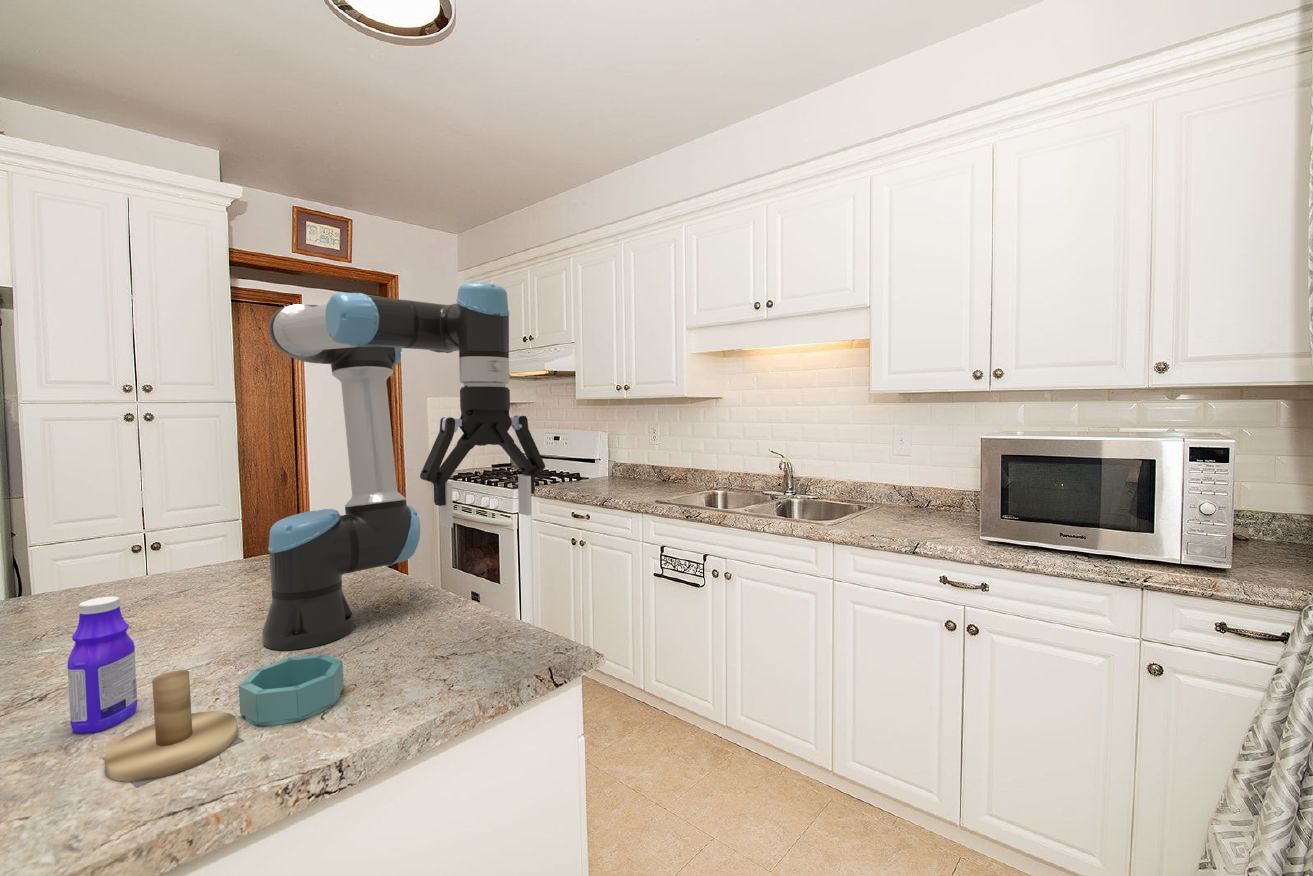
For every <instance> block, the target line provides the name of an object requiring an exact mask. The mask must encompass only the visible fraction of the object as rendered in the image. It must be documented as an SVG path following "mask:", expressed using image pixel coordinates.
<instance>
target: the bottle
mask: <svg viewBox="0 0 1313 876" xmlns="http://www.w3.org/2000/svg"><path fill="white" fill-rule="evenodd" d="M78 608H79V609H78V615H79V616H78V617H79V618H78V623H77V627H76V630H75V632H74V633H73V634H72V636H71V639H72V641H73V642H74V645H73V647H72V649H71V651H70V654H69V656H68V660H67V678H68V679H67V680H68V700H69V715H70V716H69V717H70V721H69V723H70V727H71V729H72V731H73V732H74V733H76V734H90V733H91V734H93V733H98V732H102V731H105V730H109V729H111V728H113V727H115V726H117V725H119V724H121V723H122V722H124V721H126V720H127V719H129V718H130V717H132V715H134V713H135V712H136V710H137V707H138V691H137V690H138V688H137V671H136V670H137V669H136V667H137V666H136V645H135V643H134V640H133V639H132V638H131V637H130V635H129V634H128V633H127V631H128V629H129V627H130V626H129V624H128V622H126V620H125V619H124V617H123V615H122V612H121V604H120V597H118V596H103V597H96V598H93V599H89V600H85V601H82V602H80V603H79V605H78Z"/></svg>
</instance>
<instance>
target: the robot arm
mask: <svg viewBox="0 0 1313 876" xmlns="http://www.w3.org/2000/svg"><path fill="white" fill-rule="evenodd" d="M508 301H509V300H508V293H507V291H506V289H505V288H503V287H502V286H501V285H496V284H494V283H493V284H491V283H485V282H470V283H469V282H467V283H464V284H461V285H460V286H459V287H458V290H457V297H456V303H452V304H440V303H433V302H428V301H427V302H425V301H416V300H407V299H399V298H391V297H385V296H384V297H383V296H378V295H370V294H365V293H361V292H343V291H341V292H335V293H333V294H332V295H331V296H330V297H329V300H328V302H327V303H326V304H322V305H318V304H299V303H298V304H296V303H295V304H292V305H291V304H290V305H287V306H284V307H281V308H279V309H278V310H276V312H275V313H273V315H272V316H271V318H270V320H269V321H268V322H269V323H268V335H269V339H270V341H271V342H272V344H273V345H274V346H275V348H276V349H277V350H278V351H280V353H282V354H283V355H286V356H287V357H288V358H292V359H294V360H298V361H301V362H305V363H310V364H321V365H330V367H331V376H333V377H335V378H336V379H337V380H338V381H339V382H340V384H341V395H342V403H343V404H342V405H343V414H344V425H345V427H344V428H345V434H346V437H345V438H346V443H347V444H346V446H347V454H348V455H347V456H348V466H349V474H350V475H349V477H350V487H351V498H350V499H349V500H348V501H347V503H346V504H345V505H344V510H345V511H344V512H345V514H340V512H339V511H338V510H337V509H333V508H328V509H327V508H325V509H319V510H316V509H315V510H309V511H304V512H300V513H297V514H293V515H289V516H286V517H284V518H282V519H280V520H277V521H275V523H274V524H273V525H272V526H271V528H270V530H269V536H268V537H269V539H268V546H267V547H268V549H267V550H268V553H269V565H270V584H271V585H270V587H271V588H270V589H271V602H270V606H269V608H268V613H267V615H266V619H265V622H264V625H263V628H262V633H261V635H262V645H263V646H264V647H265V648H266V649H267V648H268V649H270V650H275V651H276V650H280V651H290V650H302V649H308V648H314V647H317V646H321V645H322V646H323V645H325V644H329V643H331V642H335V641H338V640H339V639H342V638H344V637H345V636H347V635H349V634H350V633H351V632H352V631H353V630H354V626H355V624H354V615H353V612H352V610H351V608H350V606H349V603H348V600H347V598H346V595H345V594H344V591H343V579H342V578H343V575H346V574H351V573H355V572H361V571H365V570H371V569H375V568H380V567H381V568H382V567H386V566H387V567H390V566H393V565H394V564H395V565H396V564H399V563H403V562H405V561H407V560H410V559H411V557H412V556H413V555H415V552H416V550H417V549H418V546H419V542H420V538H421V521H420V517H419V516H418V512H417V510H416V509H415V508H414V507H413V506H410V505H407V499H406V497H405V496H404V495H402V494H401V493H400V492H399V491H398V483H397V474H396V465H395V464H396V463H395V454H394V444H393V436H392V426H391V415H390V406H389V405H390V404H389V395H388V387H387V386H388V385H387V380H388V379H389V378H390V377H391V375H392V374H394V367H395V366H398V364H399V363H400V361H401V360H402V359H401V358H402V354H401V353H402V350H403V349H412V350H426V351H430V352H434V353H446V354H449V353H453V352H458V362H459V366H458V367H459V383H460V384H463V386H462V387H460V389H459V408H460V417H459V418H454V417H448V416H447V417H446V416H443V417H441V418H440V422H439V432H438V434H437V436H436V438H435V441H434V442H433V445H432V448H431V449H430V451H429V454H428V456H427V459H426V461H425V463H424V465H423V468H422V469H421V472H420V475H419V477H420V479H421V480H423V481H426V482H430V483H431V484H433V503H434V505H435V506H438V507H439V524H440V526H441V527H443V528H446V529H452V528H454V516H453V513H454V512H453V506H454V505H453V484H452V483H448V481H449V479H450V478H451V477H452V476H453V474H454V472H455V471H456V470H457V468H458V467H459V466H460V465H461V463H462V462H463V460H465V457H467V454H468V453H469V452H470V451H471V450H472V449H473V448H474V447H475V446H479V447H480V446H481V447H482V446H488V445H492V446H496V445H497V446H500V447H501V448H502V450H504V451H505V453H506V454H507V456H509V458H510V459H511V460H512V461H513V462H514V464H515V465H516V466H517V468H518V469H519V470H520V471H521V472H522V474H518V475H517V481H518V482H517V484H518V485H517V488H518V489H517V490H518V498H517V499H518V514H519V515H520V514H521V515H525V516H532V494H535V491H536V486H535V485H536V484H535V482H536V481H535V477H536V476H538V475H539V472H540V471H544V470H545V468H546V464H545V462H544V460H543V458H542V456H541V454H540V451H539V449H538V447H537V445H536V442H535V440H534V438H533V436H532V434H531V432H530V429H529V423H528V421H529V419H528V417H527V416H526V415H514V416H513V417H511V416H510V410H511V409H510V408H511V392H510V390H511V389H509V387H508V386H506V385H507V384H509V383H510V356H509V355H510V311H509V303H508ZM459 428H460V430H461V431H462V434H461V436H460V438H459V439H458V440H457V442H456V445H455V446H454V448H453V449H452V450H451V452H450V453H449V454H448V456H447V457H446V459H444V458H445V456H446V453H447V452H448V449H449V447H450V444H451V443H452V441H453V438H454V434H455V433H456V432H457V431H458V429H459ZM510 428H512V429H513V430H514V433H515V435H516V437H517V439H518V441H519V444H520V445H521V448H522V449H523V451H522V450H521V449H520V447H519V446H518V445H517V443H516V442H515V439H513V437H512V435H511V434H510V433H509V432H508V431H509V429H510Z"/></svg>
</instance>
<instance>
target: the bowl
mask: <svg viewBox="0 0 1313 876" xmlns="http://www.w3.org/2000/svg"><path fill="white" fill-rule="evenodd" d="M344 686H345V684H344V663H343V660H342V659H339V658H336V657H334V656H330V655H328V654H325V653H323V654H313V655H311V654H310V655H305V656H304V655H302V656H300V655H299V656H292V657H287V658H284V659H281V660H278V661H276V662H272V663H270V664H268V665H264V666H261V667H258V668H256V669H254V670H252V672H250V673H249V675H247V676H246V677H245V678H244V679H243V680H242V681H241V682H240V683H239V684H238V694H239V695H238V697H239V700H238V701H239V714H241V715H243V716H244V720H245V721H246V722H247V723H249V724H251V725H254V726H260V727H270V726H271V727H272V726H273V727H274V726H283V725H287V724H288V725H289V724H292V723H297V722H300V721H303V720H306V719H309V718H312V717H314V716H317V715H319V714H321V713H323V712H325V711H327V710H328V709H330V708H331V707H333V706H334V705H335V704H336V703H337V702H338V701H339V699H340V698H341V695H342V694H341V692H342V690H343V689H344Z"/></svg>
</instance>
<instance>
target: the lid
mask: <svg viewBox="0 0 1313 876" xmlns="http://www.w3.org/2000/svg"><path fill="white" fill-rule="evenodd" d="M151 682H152V698H153V701H152V702H153V715H154V718H153V719H154V723H152V724H150V725H148V726H145V727H143V728H141V729H137V730H136V731H135V732H131V734H128V735H126V736H125V737H123V738H121V739H120V740H119V741H117V742H116V743H115V744H114V745H112V746H111V747H110V748H109V749H108V751H107V752H106V754H105V755H104V757H105V760H104V768H105V770H104V771H105V774H106V776H107V778H109V779H111V780H113V781H117V782H122V783H123V782H127V783H131V782H134V781H144V780H151V779H156V778H159V779H160V778H164V777H168V776H171V775H175V774H178V773H181V772H184V771H187V770H189V769H192V768H195V767H197V766H199V765H201V764H203V763H206V762H207V761H210V760H211V759H213V758H214V757H216V756H218V755H219V754H221V753H223V752H224V751H225V750H227V749H228V748H227V747H229V746H230V745H231V744H232V743H233V742H234V740H235V739H236V737H237V736H238V735H239V734H238V732H239V730H238V719H237V718H236V716H235V715H233V714H232V713H230V712H225V711H218V710H217V711H216V710H214V711H210V710H209V711H200V712H193V713H192V703H191V702H192V700H191V684H190V682H191V681H190V672H189V670H185V669H178V670H173V671H169V672H164V673H162V674H160V675H157V676H155V677H153V679H152V681H151ZM226 748H227V749H226ZM156 780H157V779H156Z"/></svg>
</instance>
